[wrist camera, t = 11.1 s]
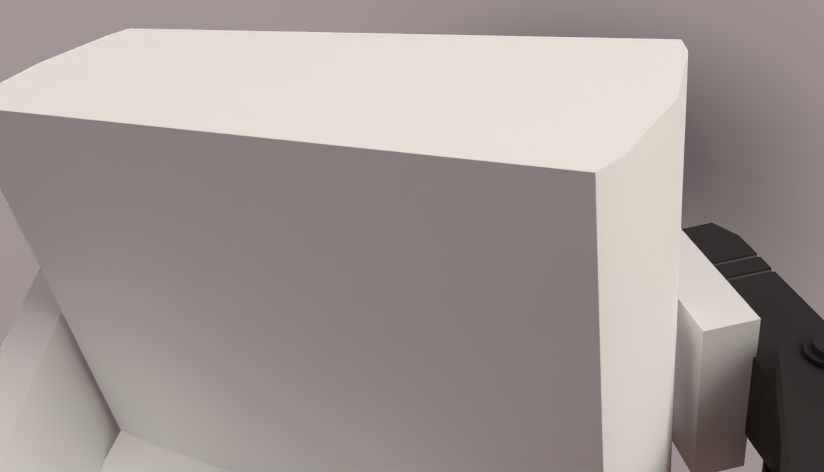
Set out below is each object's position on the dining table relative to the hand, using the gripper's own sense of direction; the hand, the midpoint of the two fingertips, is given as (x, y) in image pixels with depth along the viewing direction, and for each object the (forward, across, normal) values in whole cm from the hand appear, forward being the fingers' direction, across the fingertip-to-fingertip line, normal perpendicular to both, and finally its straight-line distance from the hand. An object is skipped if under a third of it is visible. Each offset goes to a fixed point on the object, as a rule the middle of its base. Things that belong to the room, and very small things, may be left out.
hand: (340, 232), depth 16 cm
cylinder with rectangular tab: (-5, 0, -7) cm, 9 cm away
